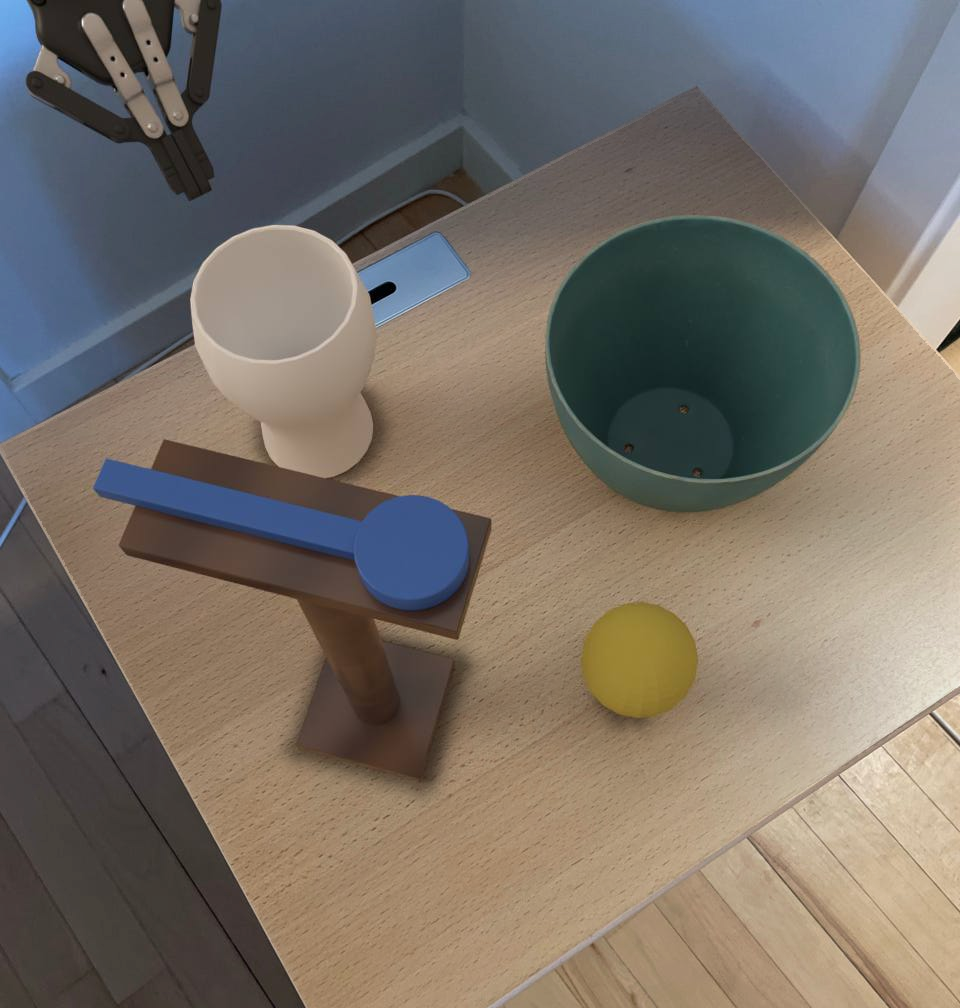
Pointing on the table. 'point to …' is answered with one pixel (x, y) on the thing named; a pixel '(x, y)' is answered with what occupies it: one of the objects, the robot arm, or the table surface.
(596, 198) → the table surface
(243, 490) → the spoon stand
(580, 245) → the table surface
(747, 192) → the table surface
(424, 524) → the spoon
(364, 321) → the cup
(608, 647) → the yellow ball
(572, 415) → the plant pot
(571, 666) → the table surface
